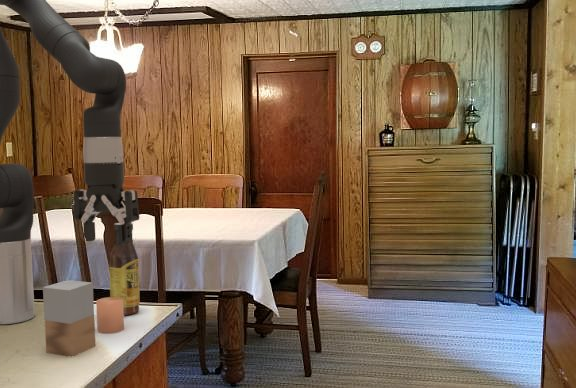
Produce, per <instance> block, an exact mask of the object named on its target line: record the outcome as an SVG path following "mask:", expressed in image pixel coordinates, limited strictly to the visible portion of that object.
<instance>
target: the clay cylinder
mask: <svg viewBox="0 0 576 388" xmlns="http://www.w3.org/2000/svg"><path fill="white" fill-rule="evenodd" d="M95 304H96V331H97V332H98V333H99V334H109V335H110V334H117V333H119V332H122V331H124V329H125V320H124V319H125V315H124V309H123V298H120V297H110V296H108V297H101V298H100V299H96V303H95Z"/></svg>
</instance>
